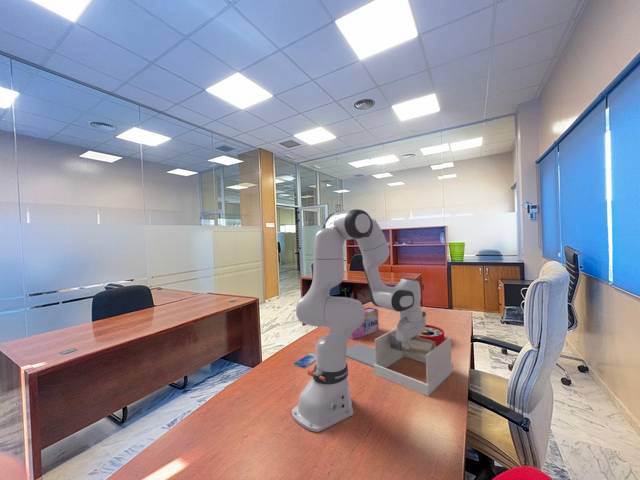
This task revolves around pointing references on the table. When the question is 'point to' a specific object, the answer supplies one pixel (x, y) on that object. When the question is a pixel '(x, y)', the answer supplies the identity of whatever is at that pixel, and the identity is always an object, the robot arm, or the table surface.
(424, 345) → the block
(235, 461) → the table surface
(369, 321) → the gum box
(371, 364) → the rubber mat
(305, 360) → the smartphone
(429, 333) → the toy clock
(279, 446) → the table surface
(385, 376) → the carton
